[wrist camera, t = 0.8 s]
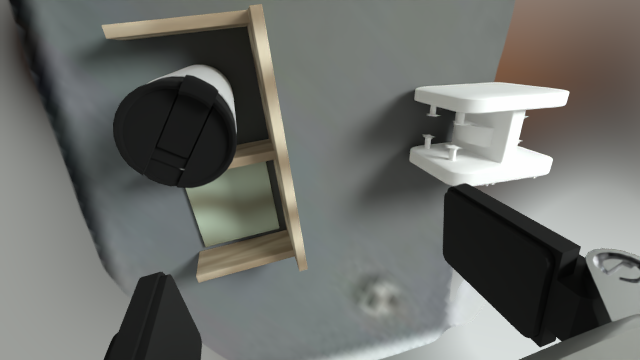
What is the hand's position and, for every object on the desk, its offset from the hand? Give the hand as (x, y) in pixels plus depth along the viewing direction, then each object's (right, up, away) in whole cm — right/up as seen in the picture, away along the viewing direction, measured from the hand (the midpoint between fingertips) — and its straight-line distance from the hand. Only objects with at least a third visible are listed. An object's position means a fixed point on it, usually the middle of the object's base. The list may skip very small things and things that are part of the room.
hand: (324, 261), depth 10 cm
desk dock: (-12, +6, +26) cm, 30 cm away
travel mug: (-13, +12, +24) cm, 30 cm away
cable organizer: (+19, +11, +34) cm, 40 cm away
